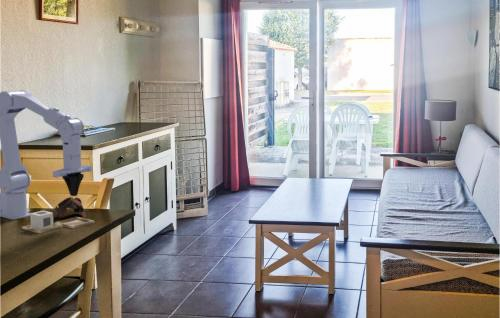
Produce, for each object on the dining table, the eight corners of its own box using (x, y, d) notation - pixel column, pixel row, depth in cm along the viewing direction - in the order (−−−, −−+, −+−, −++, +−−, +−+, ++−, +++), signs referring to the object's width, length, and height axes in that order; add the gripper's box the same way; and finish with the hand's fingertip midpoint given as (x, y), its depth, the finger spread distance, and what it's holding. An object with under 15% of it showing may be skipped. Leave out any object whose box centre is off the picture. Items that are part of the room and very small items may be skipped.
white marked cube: (31, 228, 204) (30, 213, 203) (43, 225, 208) (43, 210, 207) (40, 231, 201) (40, 215, 200) (53, 227, 205) (53, 212, 204)
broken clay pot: (83, 222, 215) (70, 203, 212) (61, 232, 217) (47, 214, 215) (93, 205, 226) (81, 187, 223) (72, 215, 228) (59, 197, 226)
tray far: (55, 225, 210) (55, 222, 209) (76, 219, 217) (76, 216, 217) (73, 229, 204) (72, 226, 204) (94, 223, 212) (94, 220, 212)
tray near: (21, 229, 204) (21, 226, 204) (45, 223, 211) (44, 221, 211) (39, 234, 199) (39, 231, 198) (62, 228, 206) (62, 225, 206)
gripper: (62, 159, 199) (63, 201, 201) (97, 153, 211) (98, 193, 213) (47, 157, 203) (49, 198, 205) (83, 151, 214) (84, 190, 217)
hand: (73, 195), depth 209 cm, fingers closed
